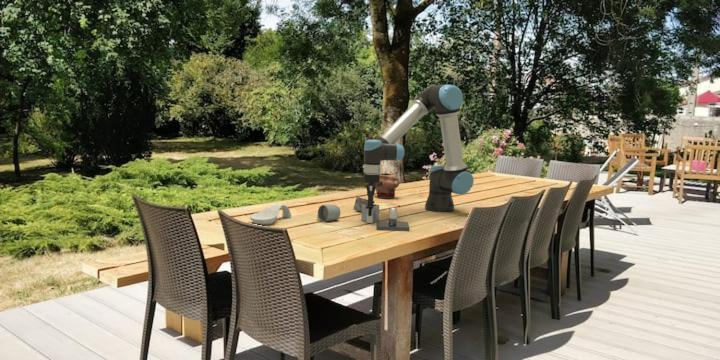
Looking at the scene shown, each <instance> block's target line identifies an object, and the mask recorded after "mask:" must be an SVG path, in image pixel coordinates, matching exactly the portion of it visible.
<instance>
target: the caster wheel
mask: <svg viewBox="0 0 720 360" xmlns="http://www.w3.org/2000/svg"><path fill="white" fill-rule="evenodd" d="M363 204H368V198H367V199H366V198H362V197H361V196H360V197H359V196H356V198H355V201H354V205H353V209H352V210H354V211H357V212H360V213H362V205H363Z"/></svg>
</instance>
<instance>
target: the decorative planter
mask: <svg viewBox="0 0 720 360" xmlns="http://www.w3.org/2000/svg"><path fill="white" fill-rule="evenodd" d="M379 175H380V180H379V182H378V183H374V186H375V192H376V196H377V197H378V198H380V199H394V198H395V196H396V189H397V188H398V187H399V185H400V183H399V181H398V178H397V176H396V175H395V174H392V173H379Z"/></svg>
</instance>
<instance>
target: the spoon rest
mask: <svg viewBox="0 0 720 360" xmlns="http://www.w3.org/2000/svg"><path fill="white" fill-rule="evenodd" d="M280 210H282V215H281V216H282V218H288V219H291V217H292V214H291V210H290V208H289V207H288V206H287V205H286V204H280V203H275V204H273V205H271V206H268V207H267V208H264V209H263V210H259V211H258V212H255V213H253V214H250V215H249V219H250V221H252V222H253V223H254V224H257V225H258V224H260V226H269V225H272V224H273V223H274V222H275V221H276V220H277V218H278V217H279V213H280Z"/></svg>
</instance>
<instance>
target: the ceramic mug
mask: <svg viewBox="0 0 720 360" xmlns="http://www.w3.org/2000/svg"><path fill="white" fill-rule="evenodd" d="M340 216H341V209H340V207H339V206H338V205H337V204H321V205H320V206H319V207H318V209H317V219H319V220H320V221H321V222H322V221H323V223H326V222H331V221H336V220H338V219H339V218H340Z"/></svg>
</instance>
